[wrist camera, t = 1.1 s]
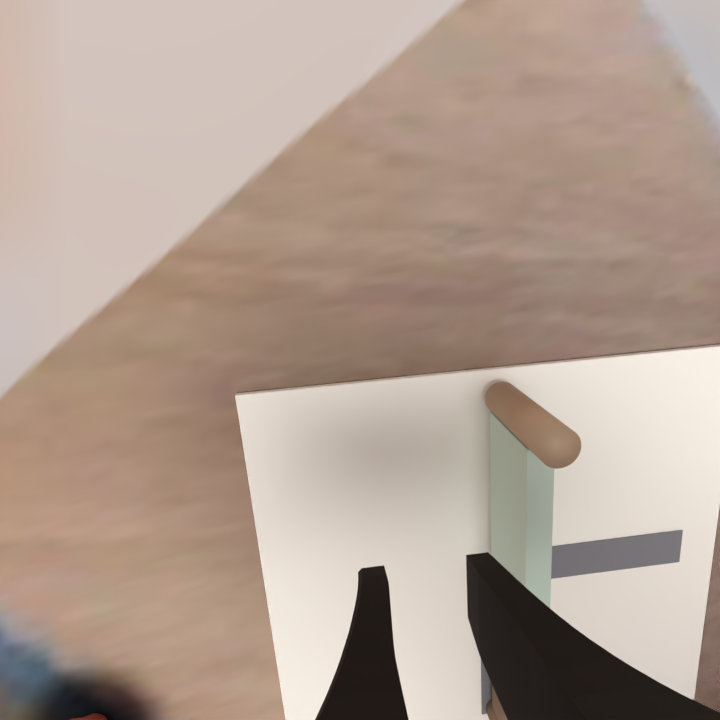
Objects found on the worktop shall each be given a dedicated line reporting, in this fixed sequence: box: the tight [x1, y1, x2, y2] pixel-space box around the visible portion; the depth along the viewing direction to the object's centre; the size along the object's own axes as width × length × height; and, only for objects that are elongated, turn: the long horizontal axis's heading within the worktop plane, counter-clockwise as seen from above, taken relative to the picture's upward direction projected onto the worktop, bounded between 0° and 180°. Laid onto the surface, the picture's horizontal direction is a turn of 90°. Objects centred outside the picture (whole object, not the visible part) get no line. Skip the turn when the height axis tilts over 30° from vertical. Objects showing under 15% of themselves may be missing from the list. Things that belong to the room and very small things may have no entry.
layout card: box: [235, 344, 720, 720], centre depth 23 cm, size 20×22×1 cm
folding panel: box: [485, 381, 581, 608], centre depth 18 cm, size 8×1×5 cm, turn 5°
